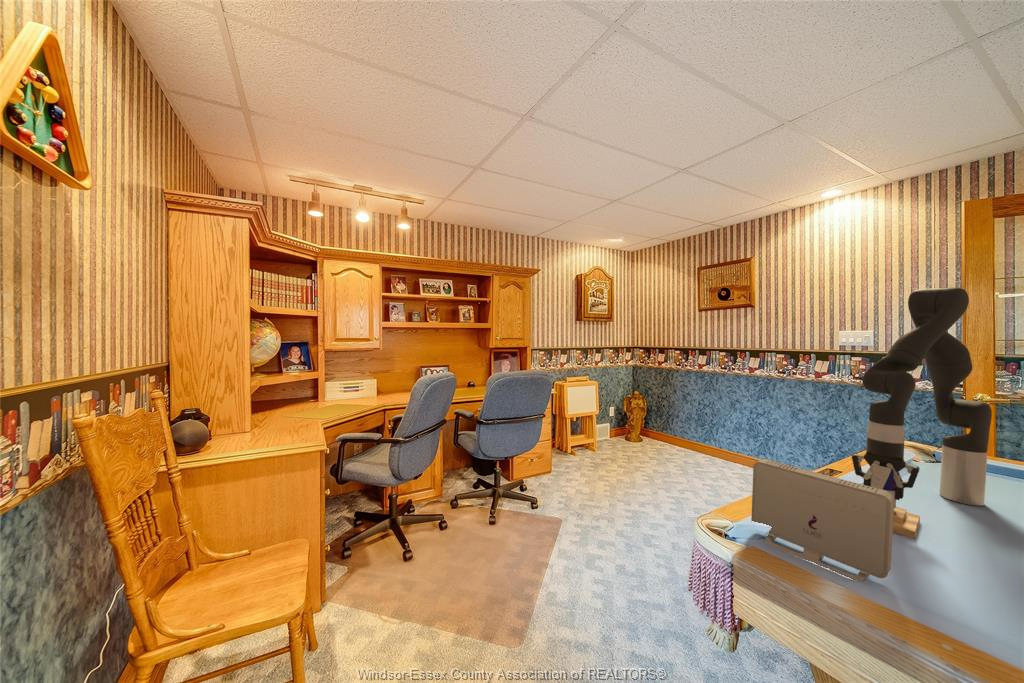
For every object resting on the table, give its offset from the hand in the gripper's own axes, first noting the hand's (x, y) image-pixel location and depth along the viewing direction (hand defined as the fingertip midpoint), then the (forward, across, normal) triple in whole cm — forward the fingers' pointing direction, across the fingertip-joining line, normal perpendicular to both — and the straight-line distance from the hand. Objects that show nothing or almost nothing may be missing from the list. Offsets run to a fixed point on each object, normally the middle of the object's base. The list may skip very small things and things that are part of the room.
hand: (882, 495), depth 104 cm
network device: (+7, +7, +38) cm, 40 cm away
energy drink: (+3, 0, 0) cm, 3 cm away
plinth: (+7, 0, 0) cm, 7 cm away
